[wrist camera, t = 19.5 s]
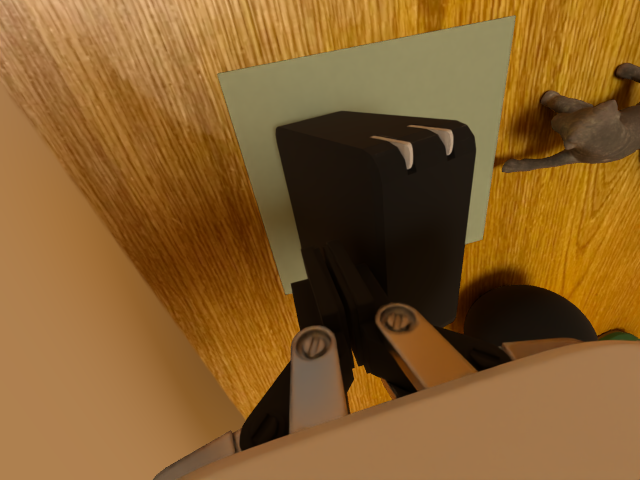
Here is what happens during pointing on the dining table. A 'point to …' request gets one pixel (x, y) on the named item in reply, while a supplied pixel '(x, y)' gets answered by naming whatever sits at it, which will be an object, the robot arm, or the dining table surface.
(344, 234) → the electronic device
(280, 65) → the mat
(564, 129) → the dog figurine
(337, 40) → the dining table surface
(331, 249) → the robot arm
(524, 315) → the decorative ball
